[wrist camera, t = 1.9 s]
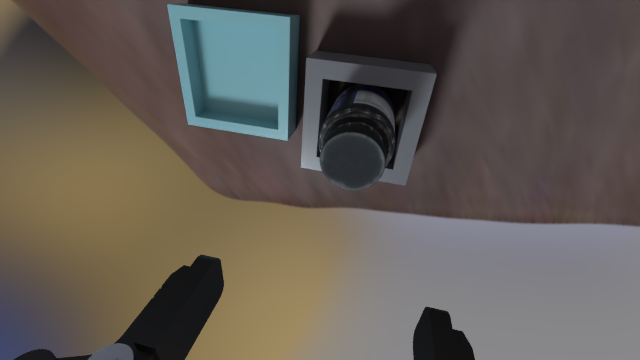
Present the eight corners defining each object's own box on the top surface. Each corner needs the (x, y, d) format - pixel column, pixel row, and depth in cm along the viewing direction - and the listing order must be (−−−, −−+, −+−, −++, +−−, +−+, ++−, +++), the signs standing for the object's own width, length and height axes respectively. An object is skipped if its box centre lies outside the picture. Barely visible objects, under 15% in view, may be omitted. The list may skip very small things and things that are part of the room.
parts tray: (299, 15, 26) (290, 17, 24) (295, 129, 32) (287, 140, 30) (187, 3, 28) (167, 4, 25) (203, 115, 34) (188, 124, 31)
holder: (431, 64, 26) (437, 73, 23) (404, 165, 32) (405, 185, 29) (316, 50, 28) (306, 57, 24) (310, 150, 33) (300, 167, 30)
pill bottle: (346, 147, 32) (328, 207, 23) (324, 95, 30) (293, 139, 21) (402, 129, 30) (407, 187, 21) (383, 71, 27) (378, 108, 18)
